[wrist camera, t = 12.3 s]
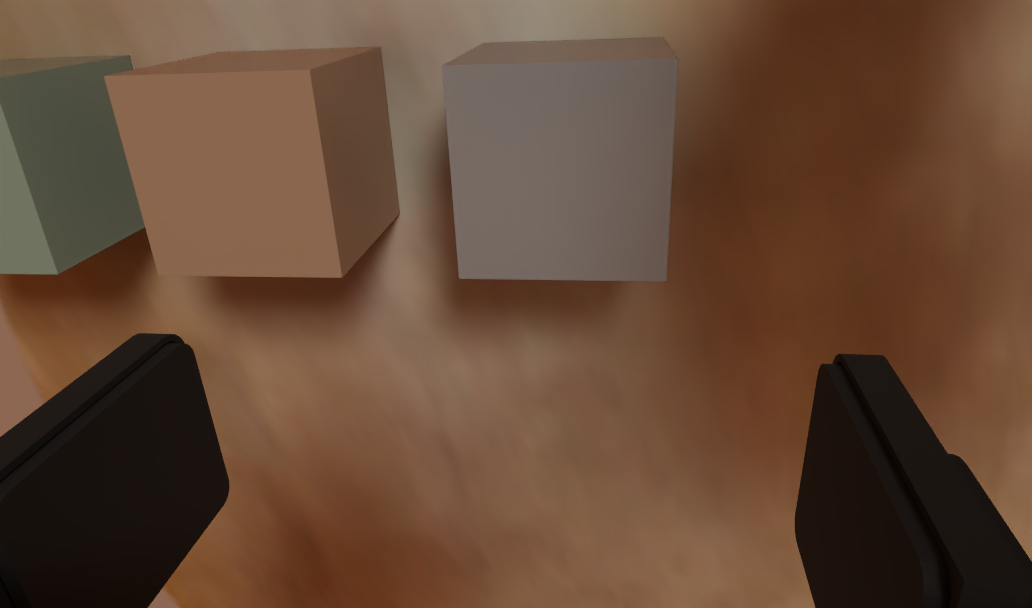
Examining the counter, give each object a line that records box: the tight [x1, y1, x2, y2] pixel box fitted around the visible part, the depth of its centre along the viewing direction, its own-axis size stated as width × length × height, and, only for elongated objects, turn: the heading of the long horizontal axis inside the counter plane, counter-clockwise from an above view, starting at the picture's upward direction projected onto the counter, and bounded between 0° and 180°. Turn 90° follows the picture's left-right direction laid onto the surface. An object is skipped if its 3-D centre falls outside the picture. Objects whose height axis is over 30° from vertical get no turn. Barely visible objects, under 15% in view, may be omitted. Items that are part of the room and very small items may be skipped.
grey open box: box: [442, 37, 678, 282], centre depth 28 cm, size 8×8×8 cm
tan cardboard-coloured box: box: [104, 47, 400, 278], centre depth 30 cm, size 8×8×8 cm
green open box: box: [0, 55, 145, 274], centre depth 31 cm, size 8×8×8 cm
